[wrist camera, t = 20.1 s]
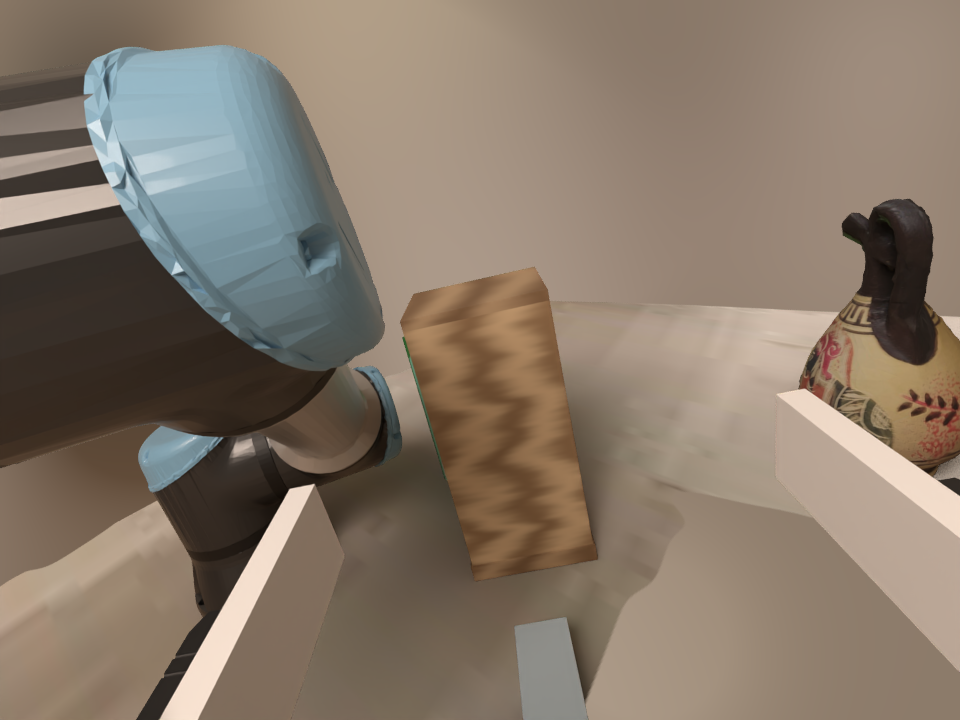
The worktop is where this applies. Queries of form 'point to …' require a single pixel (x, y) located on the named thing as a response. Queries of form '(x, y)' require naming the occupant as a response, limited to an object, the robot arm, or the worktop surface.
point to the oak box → (501, 421)
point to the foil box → (548, 672)
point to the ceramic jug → (892, 344)
